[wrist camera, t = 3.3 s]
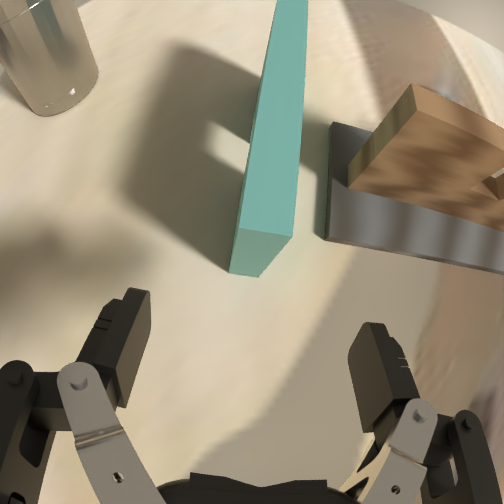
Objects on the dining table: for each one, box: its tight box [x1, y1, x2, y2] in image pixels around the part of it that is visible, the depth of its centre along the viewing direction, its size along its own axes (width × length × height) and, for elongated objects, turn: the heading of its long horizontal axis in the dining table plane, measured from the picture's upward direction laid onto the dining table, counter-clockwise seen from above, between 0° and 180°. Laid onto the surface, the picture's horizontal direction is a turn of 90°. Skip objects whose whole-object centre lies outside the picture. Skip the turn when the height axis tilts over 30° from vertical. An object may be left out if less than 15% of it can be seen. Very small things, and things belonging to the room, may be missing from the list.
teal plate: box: [229, 0, 308, 277], centre depth 22 cm, size 20×2×12 cm, turn 172°
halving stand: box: [325, 83, 504, 275], centre depth 23 cm, size 27×12×13 cm, turn 82°
